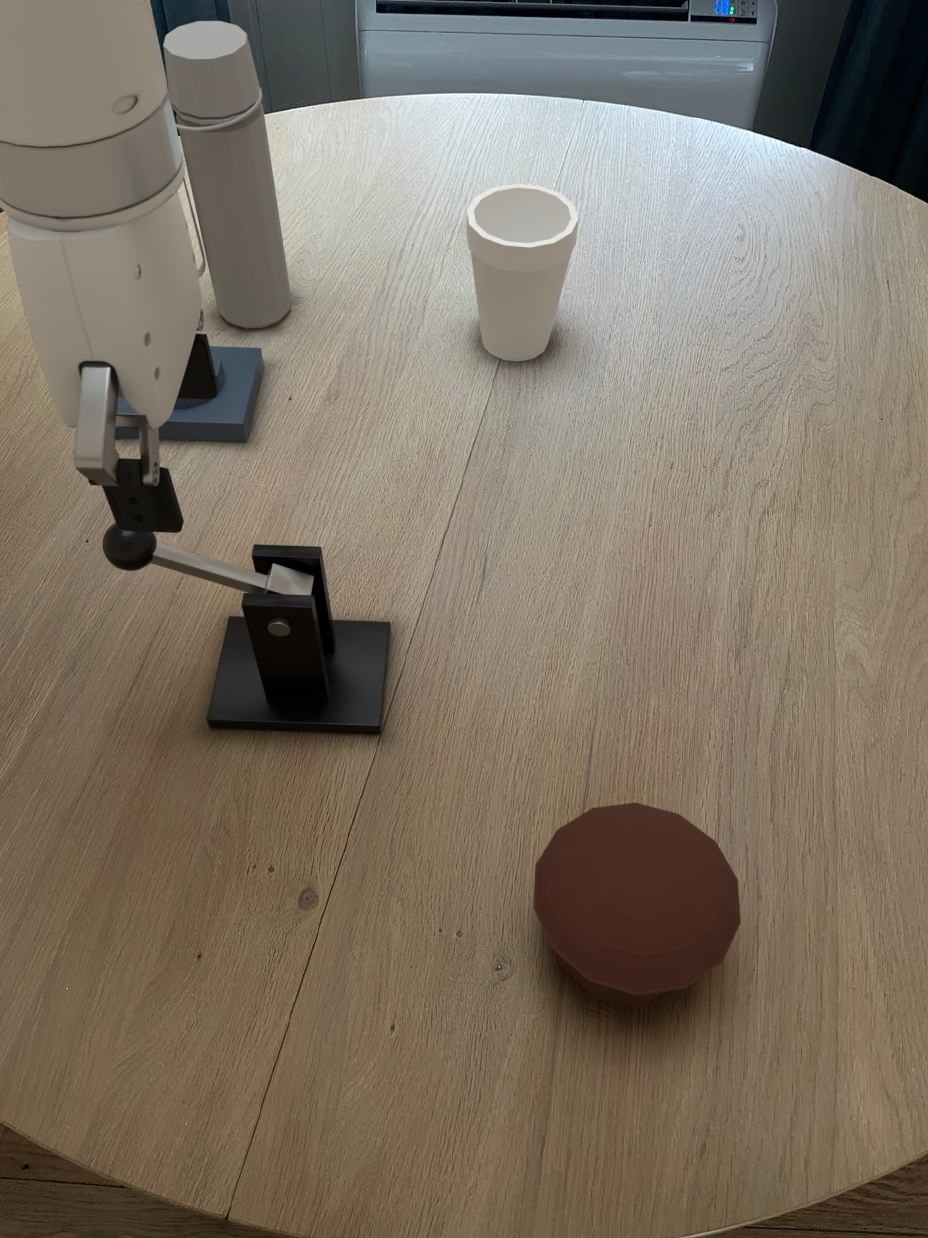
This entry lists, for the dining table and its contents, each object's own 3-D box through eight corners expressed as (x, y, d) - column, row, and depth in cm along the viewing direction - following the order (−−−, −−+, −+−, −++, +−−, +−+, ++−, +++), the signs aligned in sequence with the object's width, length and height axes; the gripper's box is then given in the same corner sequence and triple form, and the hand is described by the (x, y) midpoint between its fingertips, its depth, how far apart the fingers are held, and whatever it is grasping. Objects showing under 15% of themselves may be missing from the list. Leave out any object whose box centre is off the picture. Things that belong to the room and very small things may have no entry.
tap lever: (92, 571, 64) (101, 541, 61) (105, 532, 65) (114, 501, 63) (295, 631, 68) (311, 605, 65) (301, 593, 70) (317, 566, 67)
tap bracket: (209, 728, 73) (173, 629, 63) (231, 625, 78) (200, 518, 68) (380, 735, 72) (370, 636, 63) (391, 630, 78) (382, 525, 68)
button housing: (108, 438, 90) (96, 402, 87) (135, 362, 96) (123, 326, 93) (247, 442, 90) (239, 407, 86) (264, 366, 96) (258, 330, 92)
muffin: (690, 839, 68) (722, 765, 60) (741, 1012, 61) (784, 955, 53) (511, 863, 67) (519, 790, 59) (543, 1041, 60) (557, 987, 52)
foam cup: (546, 382, 95) (558, 257, 84) (451, 358, 96) (451, 233, 86) (576, 321, 100) (590, 196, 90) (485, 299, 102) (489, 174, 91)
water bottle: (284, 279, 104) (243, 11, 83) (302, 326, 99) (263, 56, 79) (191, 296, 102) (127, 27, 82) (205, 345, 97) (141, 73, 77)
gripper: (45, 35, 46) (137, 348, 60) (-94, 273, 35) (56, 584, 49) (215, 41, 46) (268, 352, 59) (125, 281, 35) (214, 590, 49)
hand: (172, 457), depth 54 cm, fingers open, 9 cm apart
